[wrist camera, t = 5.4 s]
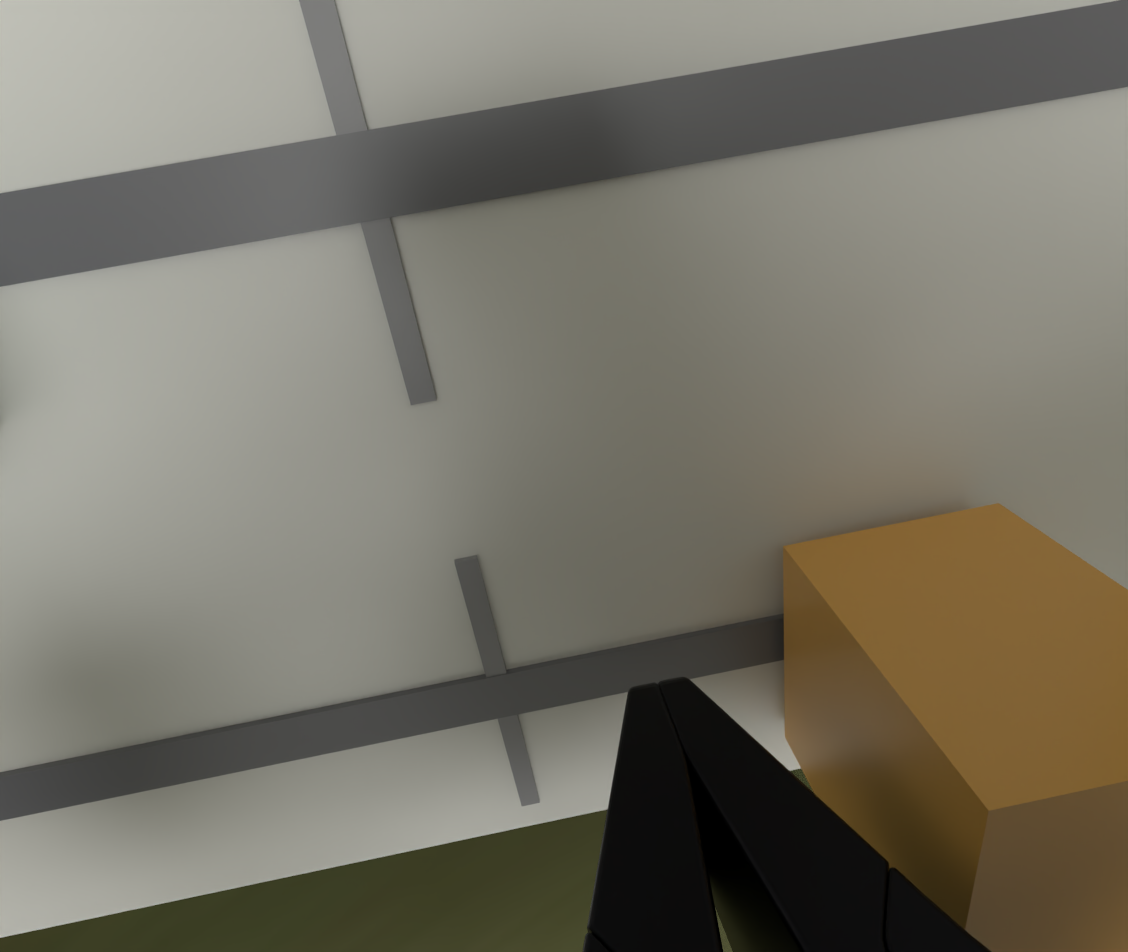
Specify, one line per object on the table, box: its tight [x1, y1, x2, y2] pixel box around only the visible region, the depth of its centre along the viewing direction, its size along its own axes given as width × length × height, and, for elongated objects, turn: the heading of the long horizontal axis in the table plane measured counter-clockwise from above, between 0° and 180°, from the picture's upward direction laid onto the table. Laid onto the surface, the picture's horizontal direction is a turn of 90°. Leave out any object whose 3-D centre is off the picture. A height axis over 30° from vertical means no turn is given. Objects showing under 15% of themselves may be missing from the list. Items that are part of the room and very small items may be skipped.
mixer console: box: [0, 0, 1128, 938], centre depth 9 cm, size 13×20×2 cm, turn 99°
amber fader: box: [783, 503, 1128, 952], centre depth 8 cm, size 4×3×4 cm
